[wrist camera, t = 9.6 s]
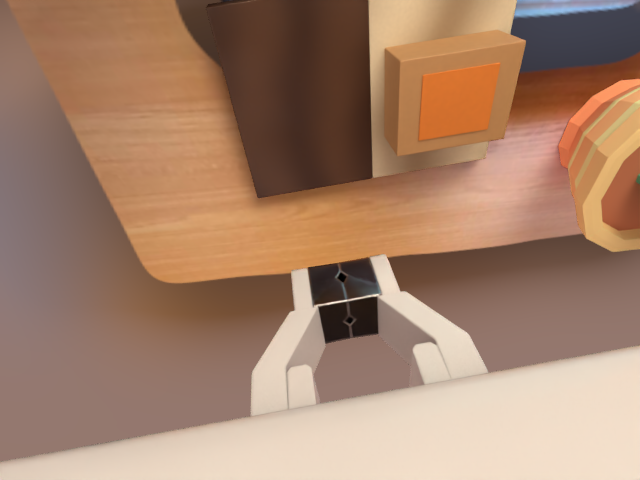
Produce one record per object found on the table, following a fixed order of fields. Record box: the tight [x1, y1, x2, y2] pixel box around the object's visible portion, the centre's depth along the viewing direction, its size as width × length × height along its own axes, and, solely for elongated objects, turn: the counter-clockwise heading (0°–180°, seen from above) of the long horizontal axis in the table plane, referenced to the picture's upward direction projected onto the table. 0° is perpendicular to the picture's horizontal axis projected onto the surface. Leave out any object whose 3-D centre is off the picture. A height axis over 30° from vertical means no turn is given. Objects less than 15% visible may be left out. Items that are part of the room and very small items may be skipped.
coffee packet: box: [384, 30, 526, 156], centre depth 26 cm, size 8×6×4 cm
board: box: [206, 0, 517, 198], centre depth 27 cm, size 20×14×1 cm
